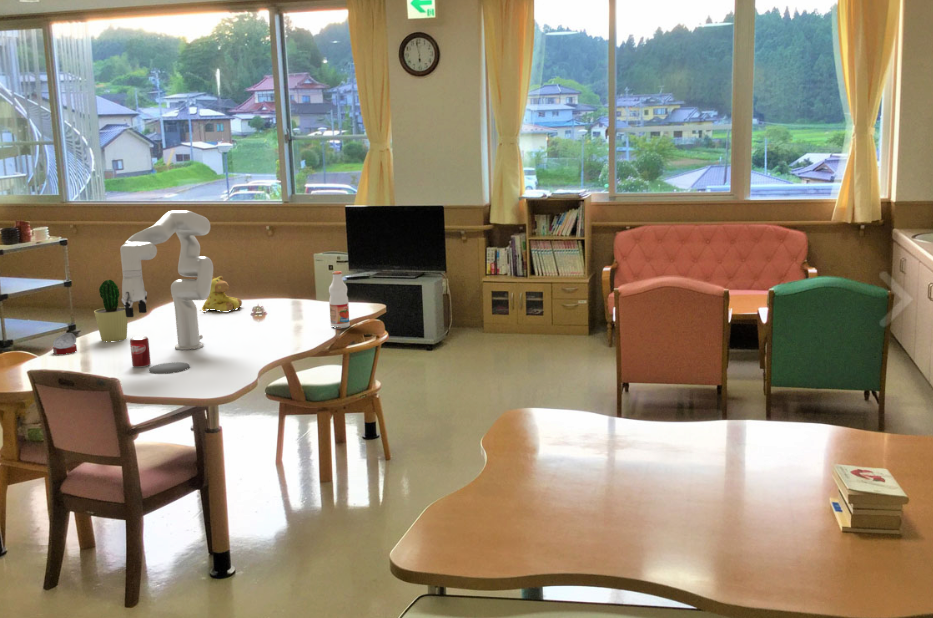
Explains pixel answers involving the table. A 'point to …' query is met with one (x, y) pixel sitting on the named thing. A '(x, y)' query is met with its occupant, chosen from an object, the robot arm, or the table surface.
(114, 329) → the potted cactus
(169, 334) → the table surface
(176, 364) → the charcoal mat
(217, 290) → the giraffe plush
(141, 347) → the soda can
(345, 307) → the fruit juice
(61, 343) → the snow globe
